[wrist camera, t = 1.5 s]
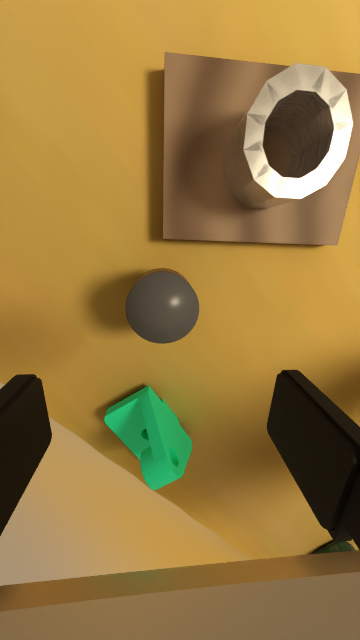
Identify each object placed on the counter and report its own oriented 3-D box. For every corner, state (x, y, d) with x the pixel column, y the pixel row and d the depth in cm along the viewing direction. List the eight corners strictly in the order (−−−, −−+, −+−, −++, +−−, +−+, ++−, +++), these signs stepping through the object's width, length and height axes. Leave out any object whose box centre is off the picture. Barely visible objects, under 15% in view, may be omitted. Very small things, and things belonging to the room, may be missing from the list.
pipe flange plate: (361, 89, 23) (460, 15, 15) (325, 245, 28) (386, 246, 20) (164, 69, 21) (166, -27, 14) (162, 238, 26) (163, 237, 18)
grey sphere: (191, 266, 27) (201, 274, 21) (188, 320, 30) (196, 343, 23) (132, 264, 27) (123, 272, 20) (134, 320, 29) (127, 343, 22)
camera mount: (105, 405, 33) (82, 473, 23) (149, 380, 32) (144, 440, 23) (150, 455, 37) (146, 530, 27) (190, 433, 36) (201, 504, 26)
